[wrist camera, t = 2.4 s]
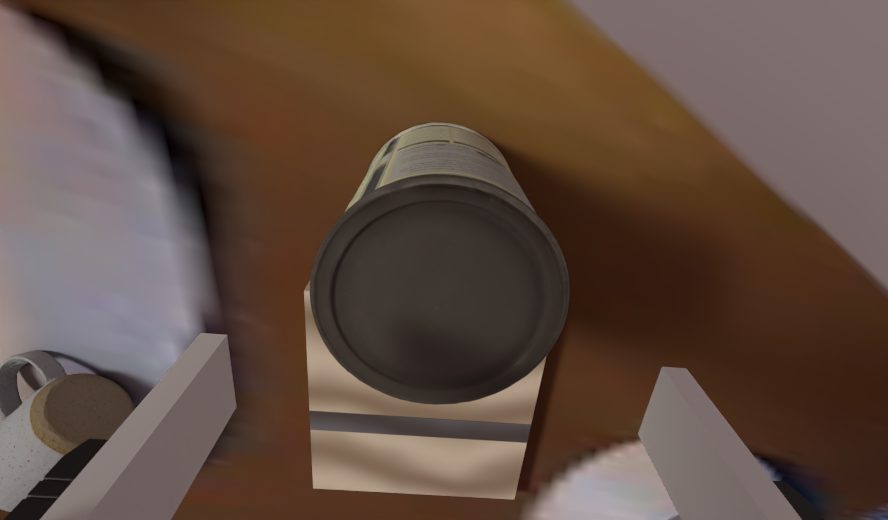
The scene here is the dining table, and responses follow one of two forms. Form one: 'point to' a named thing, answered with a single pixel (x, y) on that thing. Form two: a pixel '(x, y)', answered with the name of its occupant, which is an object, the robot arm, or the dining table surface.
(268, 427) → the dining table surface
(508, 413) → the plywood board
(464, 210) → the coffee can
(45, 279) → the dining table surface
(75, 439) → the ceramic mug
